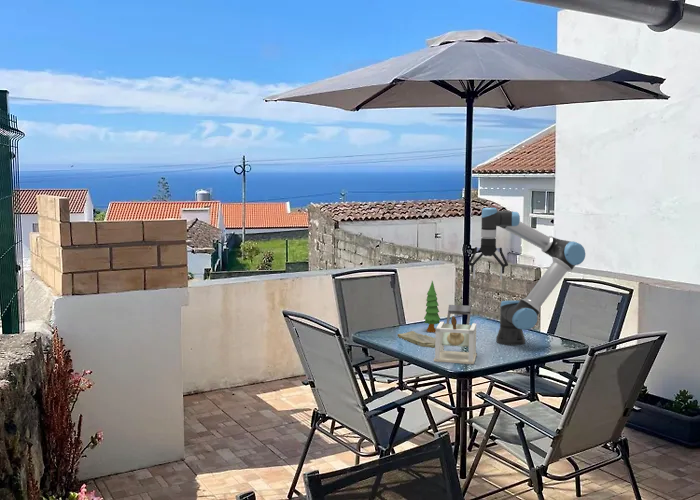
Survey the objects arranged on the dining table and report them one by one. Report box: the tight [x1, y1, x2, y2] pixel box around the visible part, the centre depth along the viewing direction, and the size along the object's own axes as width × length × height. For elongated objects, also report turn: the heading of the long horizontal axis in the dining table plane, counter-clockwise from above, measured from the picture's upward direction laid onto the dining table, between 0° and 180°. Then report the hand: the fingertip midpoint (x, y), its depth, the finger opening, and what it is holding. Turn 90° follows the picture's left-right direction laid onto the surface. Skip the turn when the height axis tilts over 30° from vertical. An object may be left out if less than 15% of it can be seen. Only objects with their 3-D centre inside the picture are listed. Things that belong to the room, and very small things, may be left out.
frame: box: [433, 321, 478, 365], centre depth 337 cm, size 19×19×16 cm
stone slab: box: [397, 330, 435, 349], centre depth 373 cm, size 12×4×30 cm
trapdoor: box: [442, 304, 472, 348], centre depth 341 cm, size 13×25×2 cm
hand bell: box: [447, 315, 464, 345], centre depth 330 cm, size 8×8×16 cm
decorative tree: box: [423, 280, 441, 333], centre depth 398 cm, size 10×9×30 cm
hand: (487, 279), depth 353 cm, fingers open, 13 cm apart
